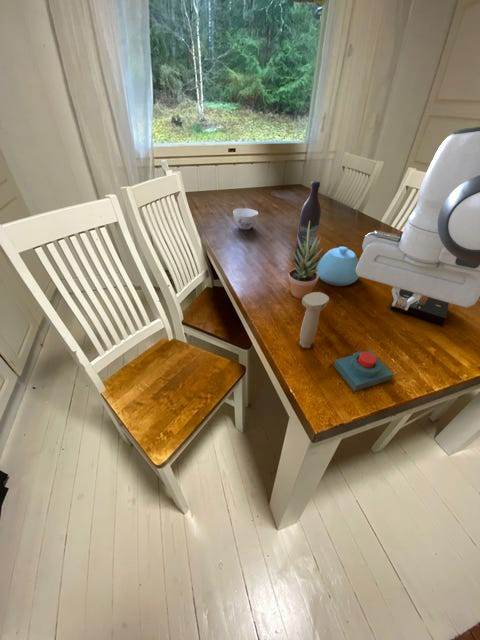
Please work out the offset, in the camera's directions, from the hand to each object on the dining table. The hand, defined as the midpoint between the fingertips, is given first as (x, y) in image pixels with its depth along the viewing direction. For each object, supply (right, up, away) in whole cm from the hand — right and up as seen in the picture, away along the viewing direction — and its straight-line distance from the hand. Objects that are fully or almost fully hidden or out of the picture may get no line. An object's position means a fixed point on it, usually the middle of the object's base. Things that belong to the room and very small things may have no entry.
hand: (399, 306), depth 55 cm
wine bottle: (-7, +20, +55) cm, 59 cm away
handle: (-15, -10, +18) cm, 25 cm away
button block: (-3, -15, +10) cm, 19 cm away
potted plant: (-12, +6, +37) cm, 40 cm away
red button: (-3, -13, +8) cm, 15 cm away
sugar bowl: (+3, +13, +46) cm, 48 cm away
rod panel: (+24, +1, +31) cm, 39 cm away
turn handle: (+24, +3, +29) cm, 38 cm away
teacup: (-29, +45, +86) cm, 101 cm away
